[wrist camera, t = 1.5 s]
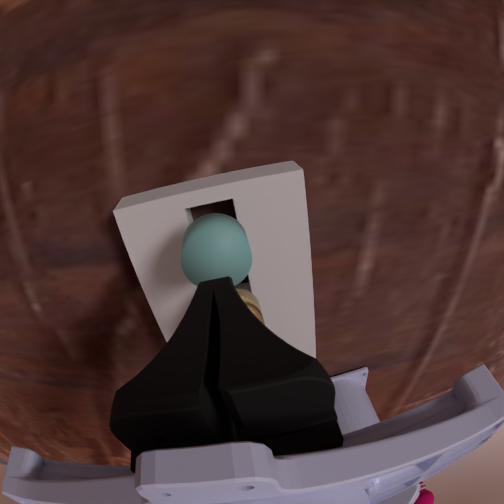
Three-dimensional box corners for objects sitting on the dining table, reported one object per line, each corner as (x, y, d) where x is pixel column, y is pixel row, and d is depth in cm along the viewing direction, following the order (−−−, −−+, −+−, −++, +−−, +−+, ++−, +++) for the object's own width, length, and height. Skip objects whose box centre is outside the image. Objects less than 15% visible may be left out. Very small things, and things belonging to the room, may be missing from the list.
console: (309, 362, 31) (316, 380, 29) (198, 385, 31) (199, 404, 28) (292, 160, 21) (303, 169, 18) (122, 197, 20) (112, 211, 18)
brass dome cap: (258, 305, 23) (269, 345, 19) (210, 314, 23) (213, 356, 19) (250, 264, 21) (261, 303, 17) (198, 275, 21) (197, 315, 17)
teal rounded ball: (247, 245, 20) (257, 282, 17) (192, 257, 20) (191, 296, 16) (237, 193, 18) (245, 221, 15) (178, 206, 18) (172, 237, 15)
